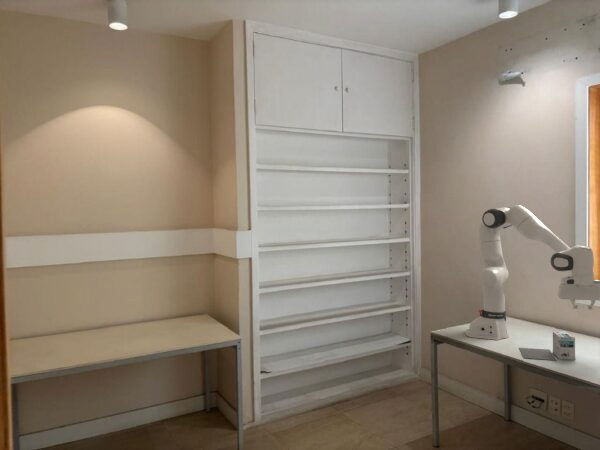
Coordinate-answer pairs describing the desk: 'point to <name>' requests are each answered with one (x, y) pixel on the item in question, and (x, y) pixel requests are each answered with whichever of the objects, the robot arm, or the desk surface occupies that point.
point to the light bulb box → (564, 345)
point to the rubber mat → (537, 354)
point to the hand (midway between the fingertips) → (582, 309)
